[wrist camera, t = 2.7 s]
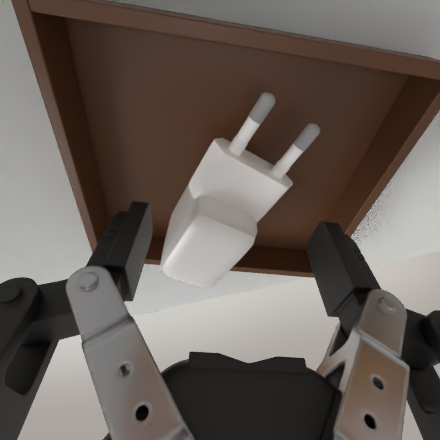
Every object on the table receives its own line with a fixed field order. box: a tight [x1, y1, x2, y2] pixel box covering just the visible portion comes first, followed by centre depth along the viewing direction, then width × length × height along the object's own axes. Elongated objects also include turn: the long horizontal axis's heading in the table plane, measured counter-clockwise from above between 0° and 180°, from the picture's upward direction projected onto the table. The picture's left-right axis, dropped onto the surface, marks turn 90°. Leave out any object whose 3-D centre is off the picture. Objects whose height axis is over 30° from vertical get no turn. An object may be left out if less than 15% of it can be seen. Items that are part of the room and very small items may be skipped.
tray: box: [11, 0, 440, 277], centre depth 15 cm, size 18×15×3 cm
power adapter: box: [160, 92, 320, 287], centre depth 14 cm, size 11×5×6 cm, turn 150°
